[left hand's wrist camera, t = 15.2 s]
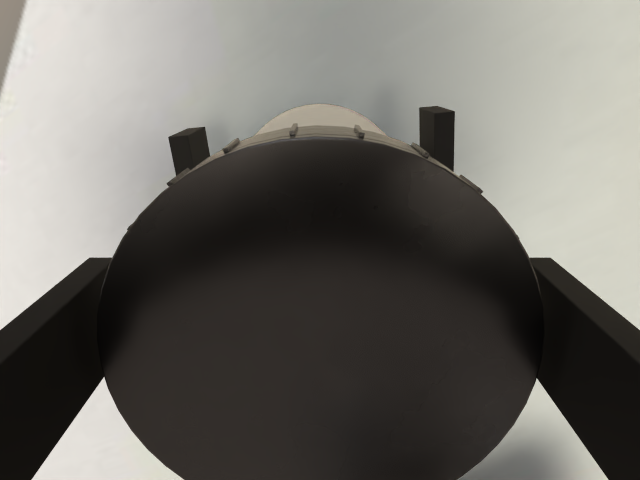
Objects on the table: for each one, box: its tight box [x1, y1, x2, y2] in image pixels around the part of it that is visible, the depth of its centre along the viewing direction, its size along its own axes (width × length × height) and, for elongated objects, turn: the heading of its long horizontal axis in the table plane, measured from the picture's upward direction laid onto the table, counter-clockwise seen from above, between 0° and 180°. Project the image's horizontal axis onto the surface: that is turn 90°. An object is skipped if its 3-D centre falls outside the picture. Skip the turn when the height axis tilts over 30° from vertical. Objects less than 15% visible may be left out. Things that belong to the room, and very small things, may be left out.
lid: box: [97, 123, 545, 480], centre depth 11 cm, size 10×10×2 cm
